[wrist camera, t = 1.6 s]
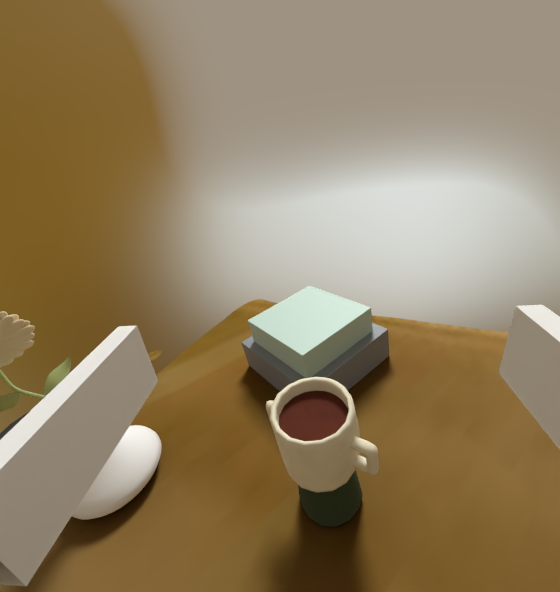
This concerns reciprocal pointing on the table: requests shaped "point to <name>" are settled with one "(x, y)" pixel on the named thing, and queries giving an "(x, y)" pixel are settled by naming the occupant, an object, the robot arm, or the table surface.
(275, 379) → the tower base
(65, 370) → the flower in vase
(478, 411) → the table surface
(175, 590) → the table surface
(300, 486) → the character mug
